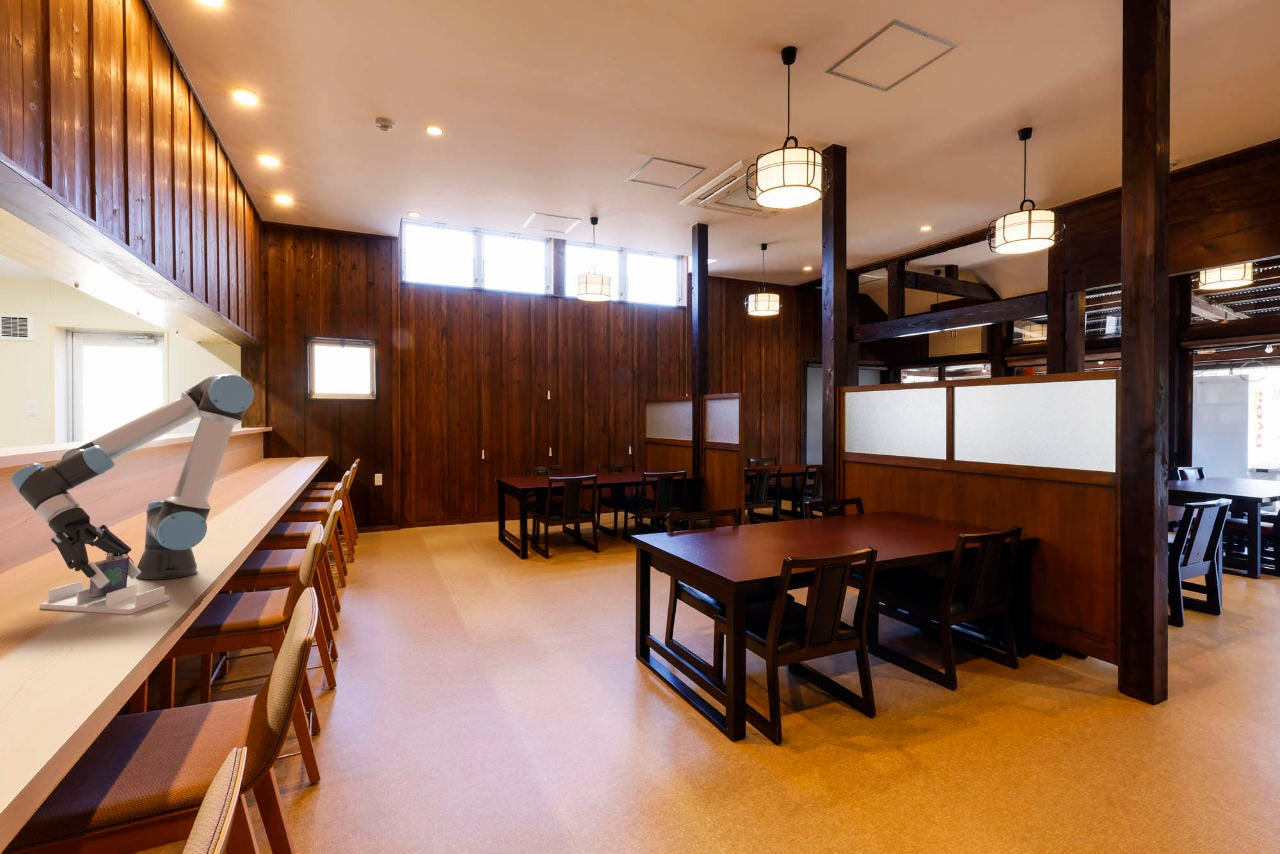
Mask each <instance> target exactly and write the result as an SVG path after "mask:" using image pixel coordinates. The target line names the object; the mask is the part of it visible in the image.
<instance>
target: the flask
mask: <svg viewBox="0 0 1280 854" xmlns="http://www.w3.org/2000/svg"><path fill="white" fill-rule="evenodd" d="M112 555H113V554H112V553H104V556H106V557H105V559H104V560H100V561H95V562H94V563H95V565H96V566H97V567H98V568H99V569H100V570H101V571H102V573H103V574H104V575H105V576H106V577H107V578H108V579H109V582H108V583H107V584H106V585H105V586H104V587H102V588H100V589H99V588H98V587H97V586H96V585H95V583H94V582H93V581H92V580H91V579H90V578H89V588H90V590H89V598H93V599H94V598H100V597H102V596H106V594H107V593H110V592H113V591H116V590H120V589H123V588H126V587H128V586H127V583H128V577H129V576H128V565H129V557H130V556H129V557H125V556H117V557H118V558H117V557H113V556H112Z"/></svg>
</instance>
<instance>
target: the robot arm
mask: <svg viewBox="0 0 1280 854" xmlns="http://www.w3.org/2000/svg"><path fill="white" fill-rule="evenodd" d="M254 398H255V391H254V388H253V386H252V384H251V383H250V381H248V380H247V379H245V378H244V377H242V376H241V375H238V374H234V373H222V374H214V375H210V376H208V377H206V378H205V379H204V380H201V381H200V382H199V383H197V384H196V385H194V386H191V388H189V389H186V390H185V391H182V392H181V395H180V397H178V398H176V399H173V400H172V401H169V402H167V403H166V404H163V405H162V406H160V407H157V408H155V409H154V410H151V411H150V412H147V413H145V414H143V415H141V416H139V417H137V418H136V419H134V420H131V421H129V422H127V423H125V424H123V425H122V426H119V427H117V428H115V429H113V430H111V431H109V432H107V433H104V434H103V435H101V436H99V437H96V438H95V439H93V440H91V441H90V442H87V443H85V444H83V445H81V446H79V447H76V448H72V449H70V450H68V451H66V452H65V453H64V454H63V455H62V457H61V460H60V461H59V462H56V463H55V464H53V465H48V466H46V465H45V464H43V463H32V464H31V465H25V466H23V467H21V468H20V469H18V470H16V471H15V472H14V473H13V474H12V475H11V478H10V480H11V483H12V485H13V486H14V487H15V488H16V490H17V491H18V493H19V494H20V495H21V497H22V498H23V499H24V500H25V501H26V502H27V503H28V504H29V505H30V506H31V507H32V508H33V510H34V511H35V512H36V513H38V515H39V516H40V517H41V518H42V520H43V521H44V522H45V523H46V524H48V527H49V528H50V529H51V530H52V531H53V533H55V535H54V536H53V537H52V538H51V539H50V541H51V543H53V544H54V545H55V546H56V548H57V549H58V551H59V552H60V555H61V557H62V559H63V560H64V562H65V564H66V566H67V568H68V569H69V570H74V571H75V572H80V571H82V573H83V574H84V575H85V576H86V577H87V578H88V579H89V580H90V579H91V580H92V581H93V582H94V583H95V585H96V586H97V587H98V588H99V589H100V588H102V587H104V586H105V585H106V584H107V583H108V582H109V579H108V578H107V577H106V576H105V575H104V574H103V573H102V571H101V570H100V569H99V568H98V567H97V566H96V565H95V562H94V561H92V562H90V561H89V556H88V551H87V548H86V547H87V546H86V545H89V546H91V547H96V548H98V549H100V550H102V551H103V552H104V553H105V554H107V553H112V554H113V555H112V556H113V557H117V556H125V557H129V565H128V577H129V579H131V580H133V579H136V578H137V579H141V580H170V579H176V578H184V577H188V576H191V575H194V574H195V573H197V571H198V569H197V568H198V564H197V562H196V557H195V556H194V552H193V549H192V548H194V547H195V546H197V545H199V544H200V543H201V542H202V541H203V540H204V538H205V537H206V534H207V532H208V531H207V530H208V523H207V519H208V517H209V514H210V511H211V509H212V508H211V505H210V504H209V502H208V499H209V496H210V494H211V491H212V487H213V484H214V482H215V480H216V477H217V473H218V471H219V469H220V465H221V462H222V460H223V457H224V454H225V451H226V448H227V445H228V443H229V440H230V438H231V436H232V435H231V434H232V431H233V429H234V427H235V426H236V425H238V424H240V423H242V421H243V418H244V415H245V413H246V411H247V409H249V407H250V406H251V405H252V403H253V402H254ZM196 418H200V420H199V423H198V425H197V428H196V430H195V433H194V436H193V438H192V441H191V445H190V447H189V450H188V453H187V456H186V458H185V461H184V464H183V466H182V470H181V472H180V475H179V478H178V480H177V482H176V485H175V489H174V491H173V494H172V495H170V496H169V497H166V498H164V500H162V501H161V500H157V501H154V500H153V501H150V502H149V503H148V505H147V508H146V524H145V538H144V541H145V542H144V551H143V553H142V555H141V557H140V560H139V562H138V564H137V565H136V564H135V561H134V560H132V559H133V558H131V557H130V556H129V555H128V554H129V553H130V552H131V551H132V549H133V548H131V546H129V545H127V544H126V542H124V541H123V540H121V539H120V538H119V537H118V536H116V535H115V533H113V532H112V531H110V529H109V528H108V527H107V525H105V524H101V525H100V526H98V527H97V526H95V525H93V524H92V523H91V522H90V521H91V518H90V517H91V516H90V515H89V514H88V513H87V512H86V511H85V510H84V508H83V507H81V506H80V503H78V501H77V500H76V499H75V498H74V497H73V496H72V494H70V493H69V490H72V489H74V488H76V487H77V486H79V485H81V484H84V483H86V482H88V481H90V480H92V479H94V478H96V477H98V476H100V475H103V474H105V473H106V472H108V471H109V470H111V469H113V468H114V467H115V462H114V461H115V460H117V459H119V458H121V457H123V456H124V455H126V454H127V455H128V454H129V453H131V452H133V451H134V450H136V449H138V448H141V447H142V446H144V445H146V444H148V443H150V442H152V441H154V440H156V439H158V438H160V437H162V436H163V435H165V434H168V433H169V432H171V431H173V430H176V429H177V428H179V427H181V426H183V425H185V424H187V423H189V422H190V421H192V420H194V419H196ZM117 558H118V557H117Z"/></svg>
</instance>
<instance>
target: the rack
mask: <svg viewBox="0 0 1280 854" xmlns="http://www.w3.org/2000/svg"><path fill="white" fill-rule="evenodd" d="M165 587H166V586H164V585H163V586H160V587H157V588H154V589H151V590H148V591H145V592H142V593H138V584H133V585H130V586H129V585H128V586H127V587H126V588H123V589H120V590H116V591H113V592H110V593H107V594H106V596H102V597H100V598H94V599H93V598H89V590H90V587H89V588H85V589H83V580H80V581H76V582H72V583H69V584H66V585H65V584H64V585H61V586H58V587H53V588H50V589H48V591H47V601H45V602H42V603H39V609H40V610H42V609H43V610H54V611H56V610H57V611H68V612H69V611H73V612H83V613H84V612H86V613H87V612H89V613H99V614H100V613H103V614H117V615H119V614H120V615H132V614H134V613H137V612H140V611H142V610H145V609H148V608H151V607H154V606H157V605H159V604H161V603H164V602H165V603H166V602H167V601H170V596H171V595H168V594H167V595H166V594H165Z"/></svg>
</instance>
